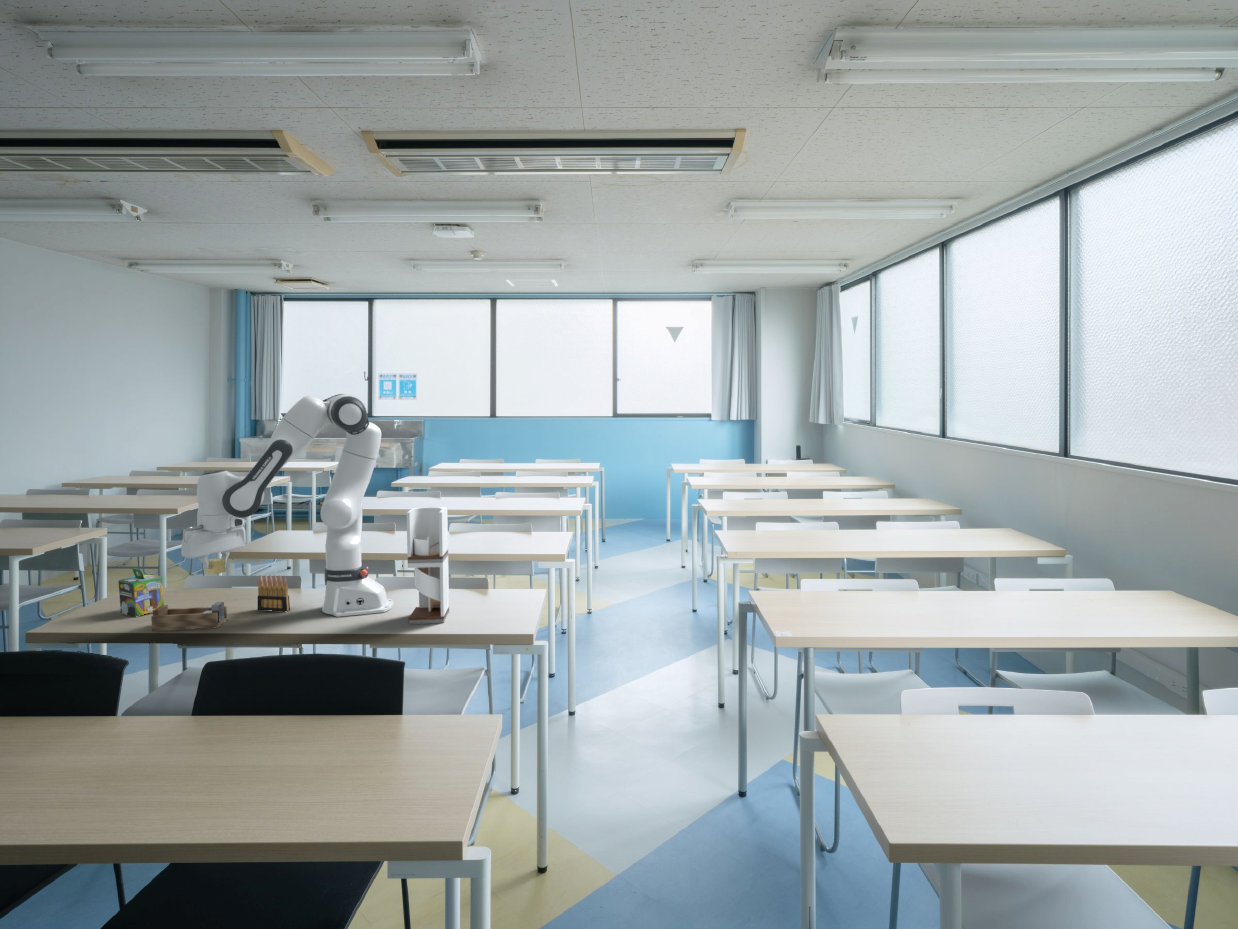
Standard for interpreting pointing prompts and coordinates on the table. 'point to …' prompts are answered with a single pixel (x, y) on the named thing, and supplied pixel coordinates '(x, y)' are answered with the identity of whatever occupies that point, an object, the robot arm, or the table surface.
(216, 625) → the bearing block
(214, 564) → the spacer
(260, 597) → the ammunition clip
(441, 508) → the spiral staircase model
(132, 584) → the chalk box
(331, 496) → the robot arm
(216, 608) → the grey metal block
